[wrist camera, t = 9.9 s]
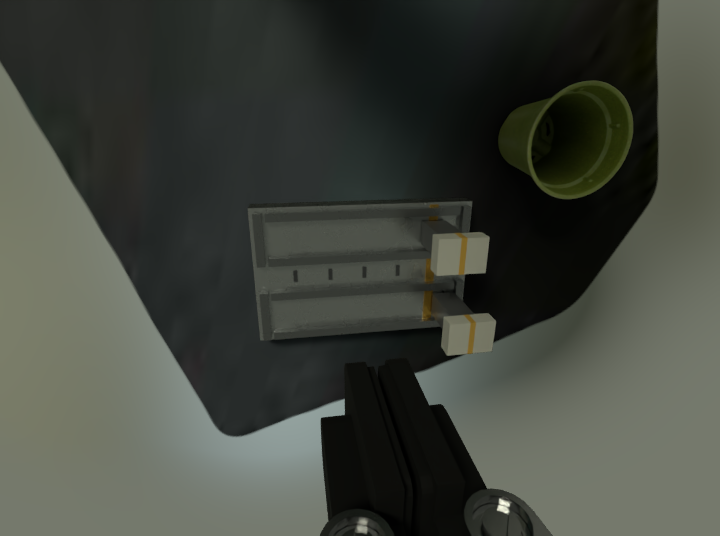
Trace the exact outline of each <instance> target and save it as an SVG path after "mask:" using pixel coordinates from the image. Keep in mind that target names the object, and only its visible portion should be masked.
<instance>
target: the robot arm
mask: <svg viewBox="0 0 720 536" xmlns="http://www.w3.org/2000/svg"><path fill="white" fill-rule="evenodd" d="M344 375H345V415H342V416H333V417H324V418H321V439H322V457H323V469H324V481H325V489H326V490H325V491H326V501H327V511H328V520H329V522H327V524H326V525H325V527H324V528H323V530H322V532H321V534H320V536H552V534H551V533H550V532H549V530H548V529H547V528H546V526H545V525H544V524H543V523H542V521H541V520H540V519H539V517H538V516H537V515H536V514H535V512H534V511H533V510H532V509H531V508H530V507H529V506H528V505H527V504H526V503H525V502H524V501H523V500H521V499H520V498H518V497H517V496H515V495H513V494H511V493H509V492H506V491H503V490H498V489H487V488H486V486H485V484H484V482H483V480H482V478H481V476H480V474H479V472H478V471H477V468H476V466H475V465H474V463H473V461H472V459H471V457H470V455H469V453H468V451H467V449H466V447H465V445H464V444H463V442H462V440H461V438H460V436H459V434H458V432H457V430H456V428H455V426H454V425H453V422H452V421H451V419H450V417H449V415H448V413H447V411H446V409H445V408H444V406H443V405H441V404H438V405H429V404H428V402H427V400H426V398H425V396H424V393H423V391H422V389H421V387H420V385H419V383H418V381H417V379H416V377H415V374H414V372H413V370H412V368H411V366H410V364H409V362H408V360H407V358H399V359H389V360H386V361H385V365H383V366H379V368H378V378H377V375H376V372H375V369H374V367H367V365H366V362H357V363H346V364H345V367H344Z"/></svg>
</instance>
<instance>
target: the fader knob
mask: <svg viewBox="0 0 720 536" xmlns="http://www.w3.org/2000/svg"><path fill="white" fill-rule="evenodd" d="M431 314H432V315H433V317H434V318H435V320H436V321H437V322H438V324H439V325H440V327H441V328H442V329H443V331H442V343H441V347H442V348H443V350H444V351H445V353H446V355H447V356H449V355H460V354H472V353H481V352H491V351H492V348H493V341H494V333H495V326H496V320H495V319H494V318H493V317H492V316H491V315H490V314H489V313H484V314H474V313H473V312H472V311H471V310H470V309H469V308H468V307H467V306H466V304H465V303H464V302H463V301H462V300H461V299H460V298H459V297H458V296H457V295H456V294H455V293H454V292H449V293H434V294H433V297H432V311H431Z"/></svg>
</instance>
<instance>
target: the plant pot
mask: <svg viewBox="0 0 720 536" xmlns="http://www.w3.org/2000/svg"><path fill="white" fill-rule="evenodd" d="M546 123H548V124H549V129H550V134H549V135H548V136H547V134H546V133H547V127H546ZM632 136H633V117H632V113H631V110H630V107H629V104H628V102H627V101H626V99H625V97H624V96H623V95H622V94H621V93H620V91H619V90H617V89H616V88H615V87H613V86H611V85H610V84H608V83H605V82H601V81H583V82H578V83H575V84H572V85H570V86H568V87H566V88H564V89H562V90H561V91H559V92H558V93H557V94H555V95H554V96H553V97H552V98H549V99H545V100H542V101H538V102H535V103H531V104H527V105H523V106H521V107H519V108H517V109H515V110H514V111H512V112H511V113H510V114H509V116H508V117H507V119H506V120H505V122H504V124H503V125H502V127H501V129H500V132H499V137H498V145H499V150H500V153H501V155H502V157H503V158H504V159H505V160H506V161H507V162H508V163H509V164H511V165H512V166H514V167H516V168H518V169H519V170H521V171H523V172H525V173H526V174H528V175H530V176H531V177H532V179H533V180H534V182H535V183H536V185H537V186H538V187H539V188H540V189H541V190H542V191H544V192H545V193H547V194H549V195H551V196H553V197H556V198H560V199H575V198H580V197H583V196H586V195H588V194H591V193H593V192H594V191H596V190H598V189H599V188H601V187H602V186H603V185H604V184H606V183H607V182H608V181H609V180H610V179H611V178H612V177H613V176H614V175H615V173H616V172H617V171H618V170H619V168H620V167H621V165H622V164H623V162H624V160H625V158H626V156H627V153H628V151H629V148H630V145H631V141H632ZM531 156H535V157H534V159H533V160H532V158H531Z"/></svg>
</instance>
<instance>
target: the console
mask: <svg viewBox="0 0 720 536" xmlns="http://www.w3.org/2000/svg"><path fill="white" fill-rule="evenodd" d="M471 210H472V201H471V200H469V199H467V198H465V197H463V198H430V199H397V200H365V201H332V202H299V203H266V204H249V207H248V216H249V227H250V237H251V247H252V258H253V268H254V278H255V289H256V299H257V309H258V320H259V330H260V340H264V341H266V340H272V339H275V340H278V339H291V338H303V337H316V336H328V335H341V334H353V333H366V332H378V331H390V330H403V329H415V328H428V327H440V325H439V324H438V322H437V321H436V320H435V318H434V317H433V315H432V314H431V311H432V297H433V294H434V293H449V292H454V293H455V294H456V295H457V296H458V297H459V298H460V299H461V300H463V290H464V280H465V274H464V275H444V276H436V275H435V274H434V273H433V272H432V270H431V269H430V268H431V253H430V252H428V251H427V250H426V249H425V248H424V247H423V246H422V245H421V239H422V222H423V221H443V220H446V221H447V222H449V223H450V224H452V225H453V226H454V227H456V228H457V229H459V230H460V231H462V232H463V233H469V230H470V220H471Z"/></svg>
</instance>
